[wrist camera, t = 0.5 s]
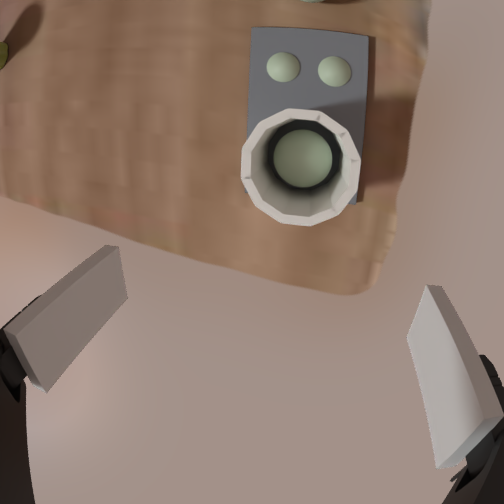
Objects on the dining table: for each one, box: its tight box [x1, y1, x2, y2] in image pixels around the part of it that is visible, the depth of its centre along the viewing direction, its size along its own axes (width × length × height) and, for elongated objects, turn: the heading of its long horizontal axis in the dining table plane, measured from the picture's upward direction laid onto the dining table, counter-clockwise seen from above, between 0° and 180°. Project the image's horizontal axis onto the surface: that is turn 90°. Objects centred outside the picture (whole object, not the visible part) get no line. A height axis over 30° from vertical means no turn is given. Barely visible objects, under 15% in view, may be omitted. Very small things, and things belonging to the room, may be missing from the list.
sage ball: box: [274, 129, 332, 187], centre depth 30 cm, size 6×6×6 cm
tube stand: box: [241, 27, 368, 226], centre depth 26 cm, size 20×13×11 cm, turn 178°
